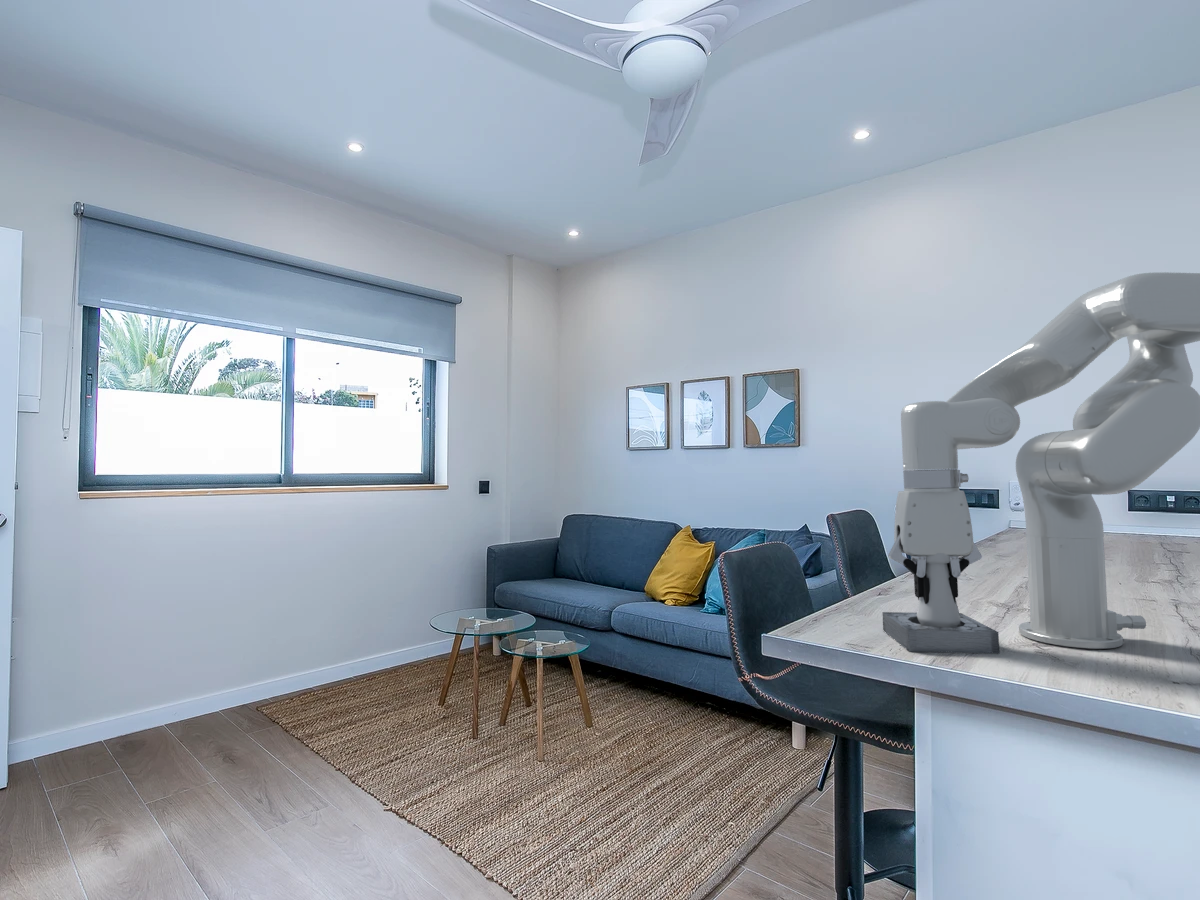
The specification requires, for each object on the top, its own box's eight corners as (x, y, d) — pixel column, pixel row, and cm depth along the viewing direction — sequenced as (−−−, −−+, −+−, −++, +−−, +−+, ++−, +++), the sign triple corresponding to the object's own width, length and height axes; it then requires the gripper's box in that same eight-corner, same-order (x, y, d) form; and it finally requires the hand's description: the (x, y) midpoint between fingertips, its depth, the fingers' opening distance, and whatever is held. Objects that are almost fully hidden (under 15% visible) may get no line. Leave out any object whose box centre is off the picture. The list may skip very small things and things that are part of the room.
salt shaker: (950, 628, 96) (946, 544, 96) (968, 637, 90) (964, 549, 91) (911, 628, 96) (907, 545, 97) (926, 637, 91) (922, 549, 91)
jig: (961, 631, 98) (961, 613, 98) (999, 653, 86) (998, 632, 87) (883, 630, 100) (882, 612, 100) (909, 651, 88) (908, 630, 88)
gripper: (976, 480, 97) (982, 597, 96) (868, 482, 99) (873, 597, 98) (1000, 481, 89) (1007, 608, 89) (882, 483, 92) (888, 607, 91)
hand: (936, 601), depth 93 cm, fingers closed on salt shaker, 3 cm apart
